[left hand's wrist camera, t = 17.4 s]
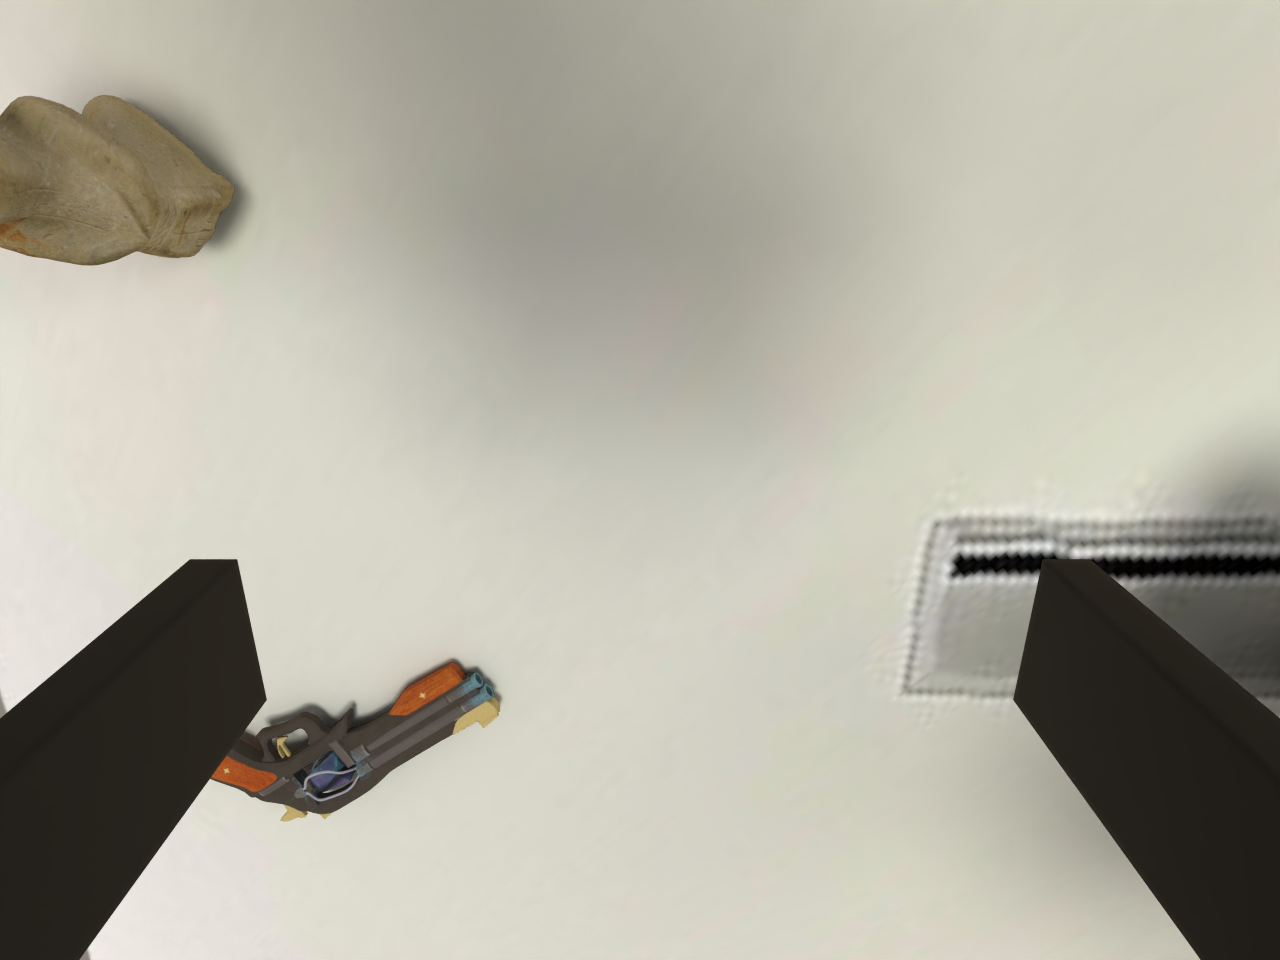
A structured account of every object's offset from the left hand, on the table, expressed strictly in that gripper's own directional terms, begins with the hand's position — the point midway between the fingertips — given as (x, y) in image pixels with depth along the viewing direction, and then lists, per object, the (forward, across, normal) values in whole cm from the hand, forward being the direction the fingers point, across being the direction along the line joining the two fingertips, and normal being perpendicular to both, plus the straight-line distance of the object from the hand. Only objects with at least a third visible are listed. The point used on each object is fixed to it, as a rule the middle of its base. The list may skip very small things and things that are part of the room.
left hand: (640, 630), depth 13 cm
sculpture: (+29, -22, +7) cm, 37 cm away
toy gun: (+29, -19, -24) cm, 42 cm away
